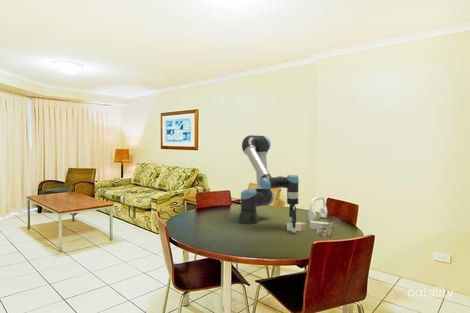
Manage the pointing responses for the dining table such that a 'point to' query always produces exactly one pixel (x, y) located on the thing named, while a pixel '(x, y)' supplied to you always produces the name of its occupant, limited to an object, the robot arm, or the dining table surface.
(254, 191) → the robot arm
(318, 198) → the headset
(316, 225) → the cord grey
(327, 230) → the comb rack
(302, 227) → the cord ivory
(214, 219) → the dining table surface
